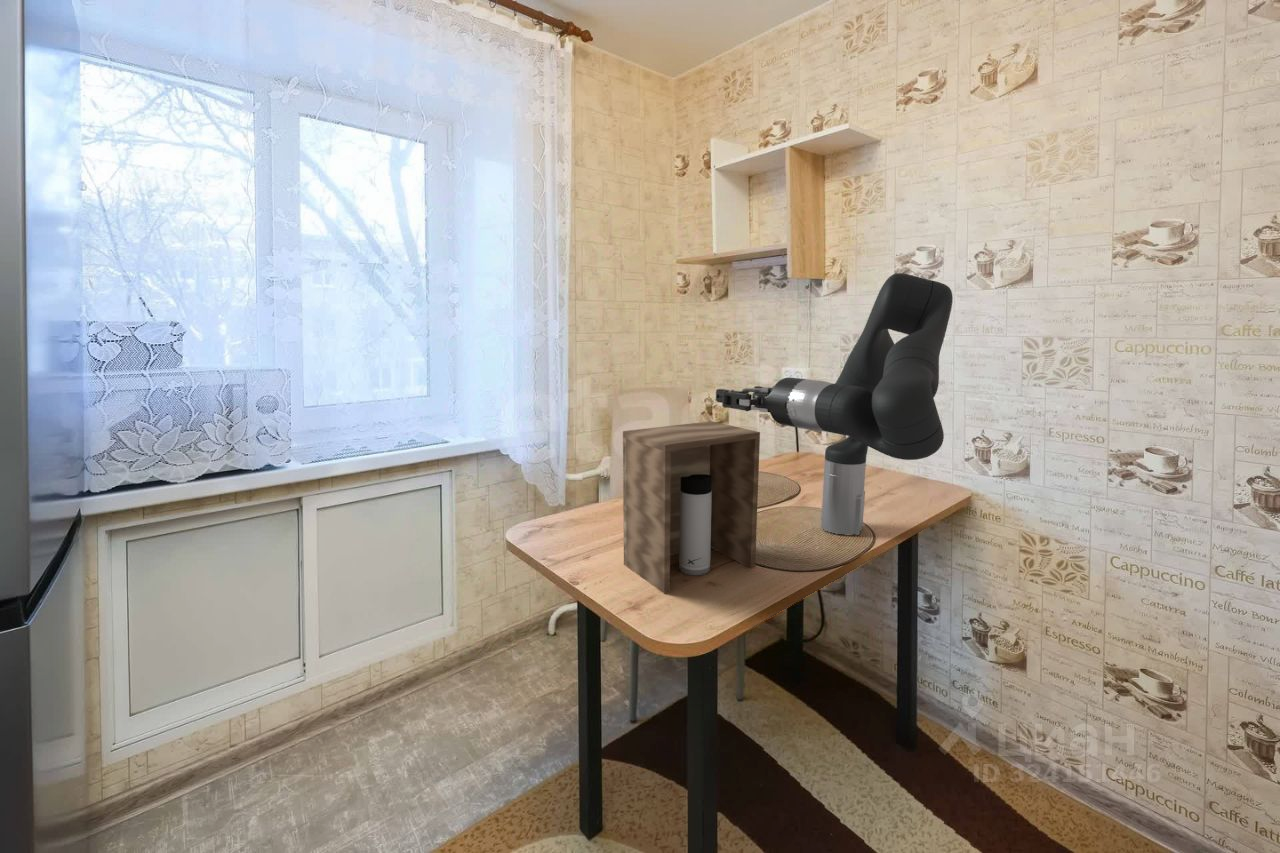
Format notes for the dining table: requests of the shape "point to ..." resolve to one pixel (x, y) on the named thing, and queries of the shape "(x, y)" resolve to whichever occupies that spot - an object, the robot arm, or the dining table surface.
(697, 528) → the travel mug
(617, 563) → the dining table surface
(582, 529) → the dining table surface
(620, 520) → the dining table surface
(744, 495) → the cubby
